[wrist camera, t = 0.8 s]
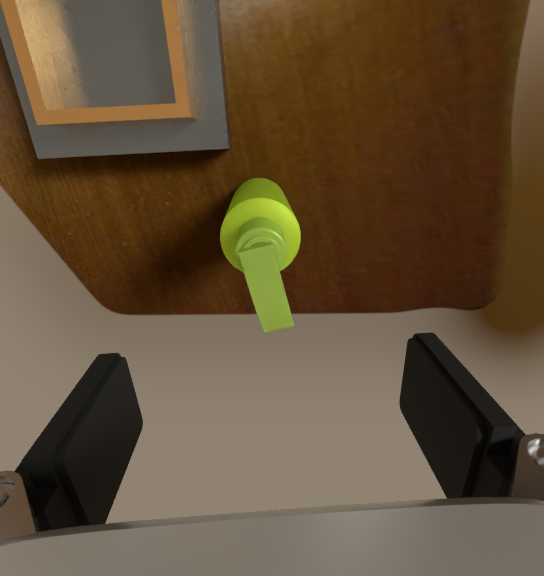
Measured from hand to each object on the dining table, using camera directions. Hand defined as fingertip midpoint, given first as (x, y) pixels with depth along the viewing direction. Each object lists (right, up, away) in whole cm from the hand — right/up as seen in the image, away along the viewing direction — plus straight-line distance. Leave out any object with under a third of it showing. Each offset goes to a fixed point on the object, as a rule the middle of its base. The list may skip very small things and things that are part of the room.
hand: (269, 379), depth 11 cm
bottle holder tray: (-13, +25, +19) cm, 34 cm away
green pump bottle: (-1, +12, +26) cm, 28 cm away
